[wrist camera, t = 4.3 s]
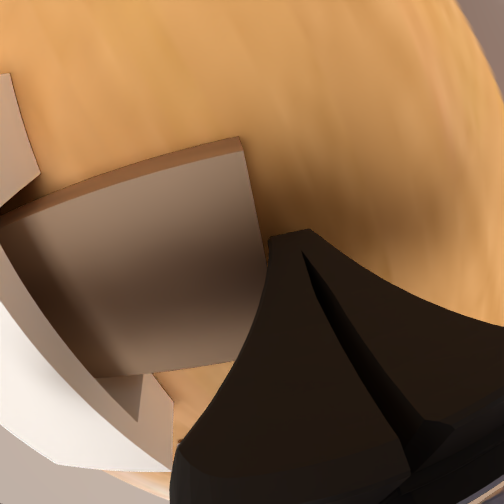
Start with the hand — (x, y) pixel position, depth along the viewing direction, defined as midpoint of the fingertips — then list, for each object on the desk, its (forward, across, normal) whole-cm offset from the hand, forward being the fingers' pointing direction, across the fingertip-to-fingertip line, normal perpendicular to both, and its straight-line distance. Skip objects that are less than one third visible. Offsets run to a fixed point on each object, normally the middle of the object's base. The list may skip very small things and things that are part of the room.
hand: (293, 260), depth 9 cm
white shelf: (+1, +10, 0) cm, 10 cm away
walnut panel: (+1, +5, 0) cm, 5 cm away
